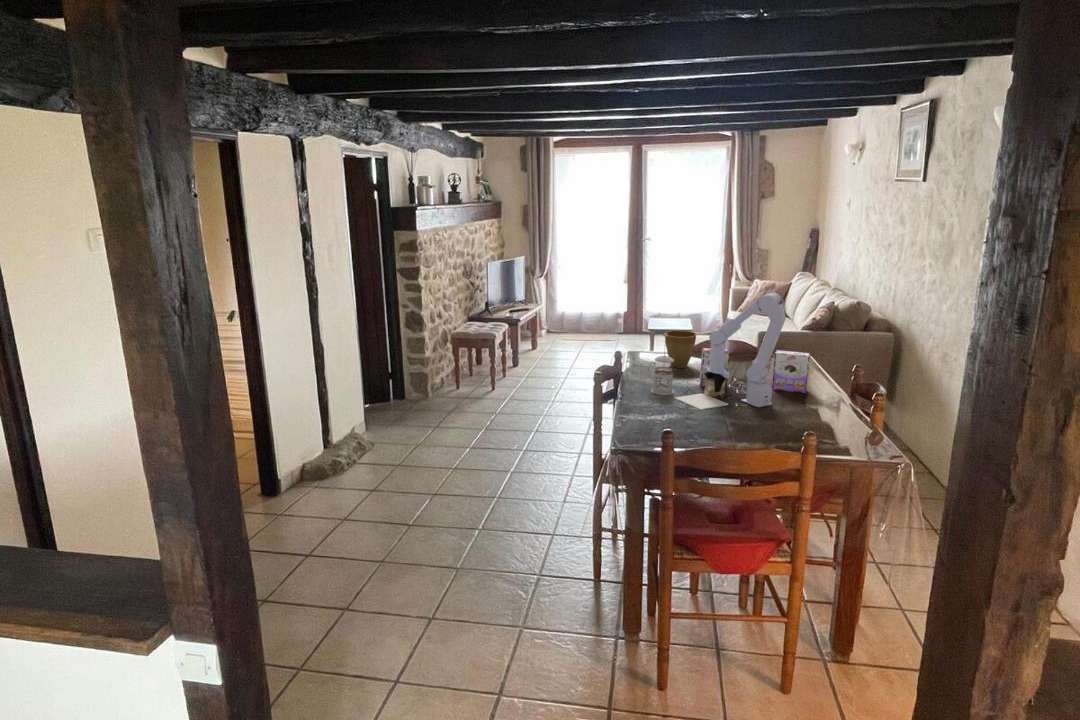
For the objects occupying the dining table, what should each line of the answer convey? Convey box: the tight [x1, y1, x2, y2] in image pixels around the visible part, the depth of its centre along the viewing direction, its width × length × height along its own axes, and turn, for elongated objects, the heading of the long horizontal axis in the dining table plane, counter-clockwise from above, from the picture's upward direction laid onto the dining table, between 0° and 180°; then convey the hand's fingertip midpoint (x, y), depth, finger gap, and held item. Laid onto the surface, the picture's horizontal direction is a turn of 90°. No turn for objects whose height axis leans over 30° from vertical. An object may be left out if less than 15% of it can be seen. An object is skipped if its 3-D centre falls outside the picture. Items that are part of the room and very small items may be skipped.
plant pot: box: [664, 330, 697, 369], centre depth 321 cm, size 15×15×16 cm
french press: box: [646, 332, 675, 396], centre depth 280 cm, size 10×12×25 cm
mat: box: [674, 393, 729, 411], centre depth 269 cm, size 16×14×1 cm
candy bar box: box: [699, 347, 731, 388], centre depth 288 cm, size 11×5×16 cm, turn 84°
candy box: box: [771, 349, 811, 394], centre depth 284 cm, size 14×6×16 cm, turn 65°
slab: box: [703, 378, 726, 398], centre depth 277 cm, size 3×8×7 cm, turn 117°
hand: (714, 390), depth 278 cm, fingers closed on slab, 3 cm apart
